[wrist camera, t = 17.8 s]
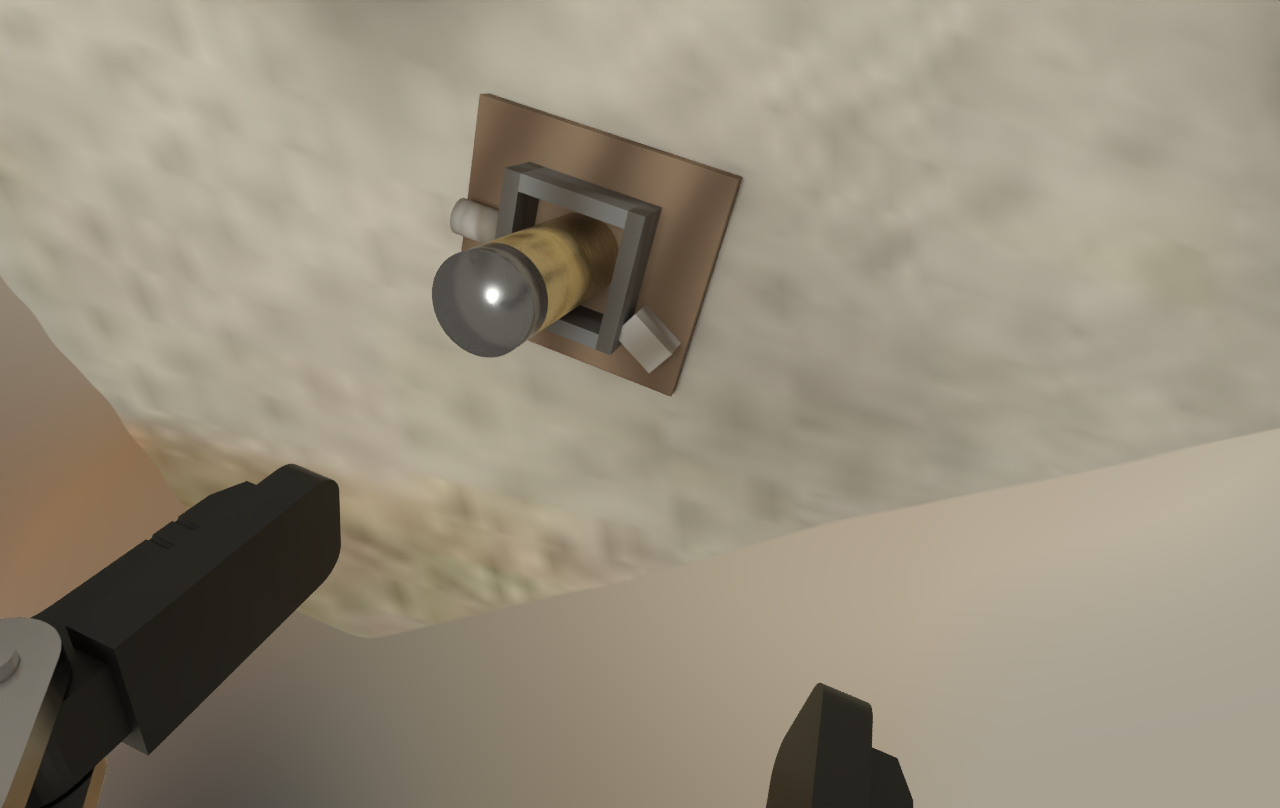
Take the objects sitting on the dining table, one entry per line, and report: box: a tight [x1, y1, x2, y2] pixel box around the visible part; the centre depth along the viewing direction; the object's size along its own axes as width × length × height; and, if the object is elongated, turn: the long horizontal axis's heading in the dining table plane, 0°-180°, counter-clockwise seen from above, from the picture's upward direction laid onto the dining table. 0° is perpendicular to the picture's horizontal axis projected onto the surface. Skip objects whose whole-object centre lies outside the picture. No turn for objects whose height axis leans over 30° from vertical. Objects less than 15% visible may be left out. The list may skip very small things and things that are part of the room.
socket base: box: [450, 94, 742, 396], centre depth 41 cm, size 16×14×4 cm
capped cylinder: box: [432, 212, 619, 357], centre depth 36 cm, size 5×5×12 cm
